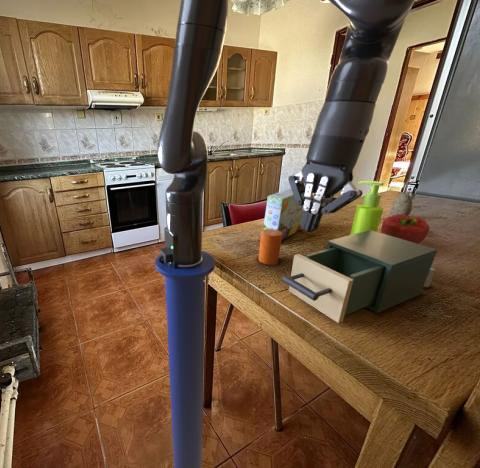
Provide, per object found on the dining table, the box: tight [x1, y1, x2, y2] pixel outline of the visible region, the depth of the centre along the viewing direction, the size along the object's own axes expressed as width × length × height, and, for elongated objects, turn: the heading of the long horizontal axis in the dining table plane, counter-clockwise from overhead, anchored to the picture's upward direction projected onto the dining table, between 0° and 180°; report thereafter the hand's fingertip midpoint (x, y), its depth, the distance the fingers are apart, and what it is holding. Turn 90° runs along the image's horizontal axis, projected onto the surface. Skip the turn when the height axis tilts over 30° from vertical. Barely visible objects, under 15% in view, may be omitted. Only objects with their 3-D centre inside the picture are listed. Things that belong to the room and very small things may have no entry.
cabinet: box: [325, 230, 438, 314], centre depth 56 cm, size 15×13×11 cm
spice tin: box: [258, 229, 282, 266], centre depth 70 cm, size 5×5×8 cm
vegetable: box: [380, 214, 430, 245], centre depth 75 cm, size 11×10×10 cm
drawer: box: [281, 247, 386, 324], centre depth 51 cm, size 18×11×9 cm, turn 113°
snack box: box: [262, 186, 306, 241], centre depth 87 cm, size 21×6×15 cm, turn 132°
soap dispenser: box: [349, 180, 385, 235], centre depth 72 cm, size 6×7×20 cm
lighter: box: [423, 267, 436, 288], centre depth 59 cm, size 7×2×8 cm, turn 179°
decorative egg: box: [389, 192, 413, 217], centre depth 98 cm, size 6×6×10 cm
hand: (307, 230), depth 49 cm, fingers closed
